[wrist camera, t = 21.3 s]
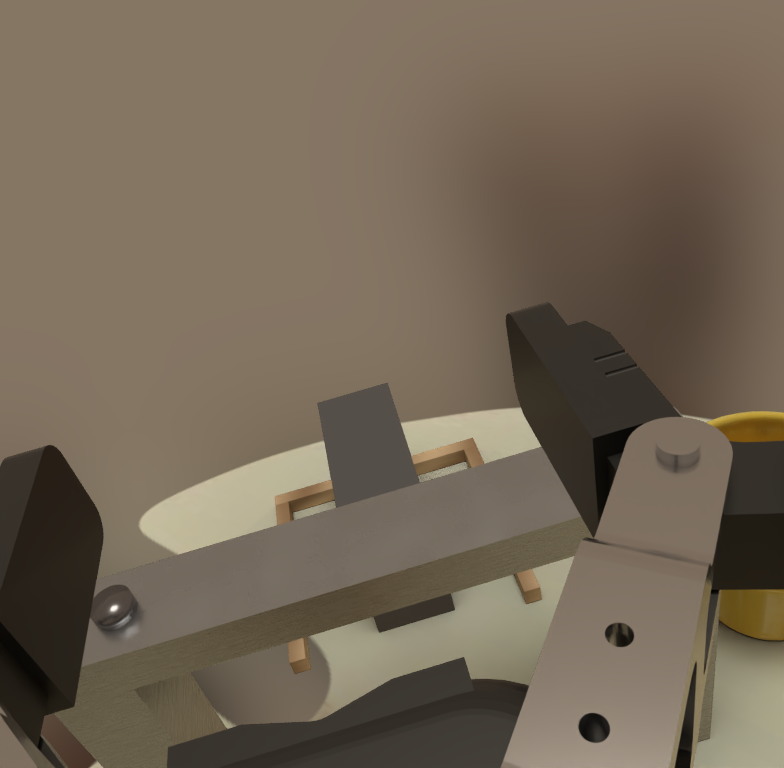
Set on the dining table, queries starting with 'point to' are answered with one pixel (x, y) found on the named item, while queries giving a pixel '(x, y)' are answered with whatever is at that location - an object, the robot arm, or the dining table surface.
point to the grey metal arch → (306, 594)
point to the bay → (422, 465)
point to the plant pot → (753, 607)
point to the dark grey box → (372, 468)
